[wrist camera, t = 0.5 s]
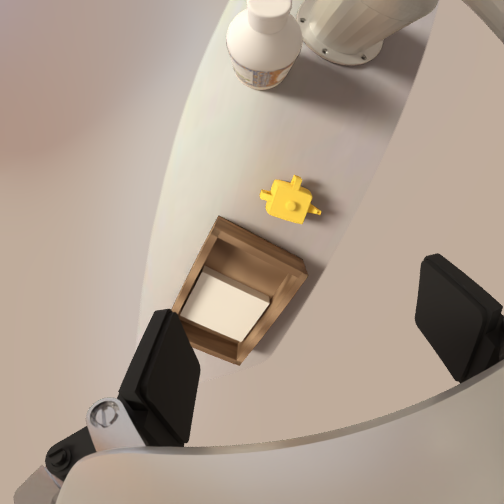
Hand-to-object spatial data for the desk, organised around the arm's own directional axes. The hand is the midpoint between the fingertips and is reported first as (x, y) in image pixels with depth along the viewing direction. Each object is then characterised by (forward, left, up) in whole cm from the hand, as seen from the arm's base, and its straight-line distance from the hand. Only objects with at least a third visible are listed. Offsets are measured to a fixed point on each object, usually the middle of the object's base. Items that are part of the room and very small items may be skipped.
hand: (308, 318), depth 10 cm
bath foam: (-13, -8, -30) cm, 34 cm away
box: (+18, +4, -30) cm, 34 cm away
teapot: (0, +4, -30) cm, 30 cm away
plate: (+20, +4, -30) cm, 36 cm away
